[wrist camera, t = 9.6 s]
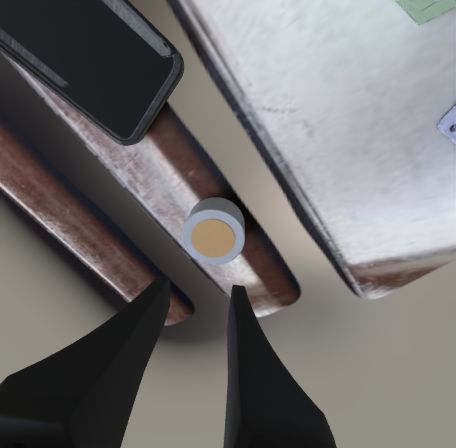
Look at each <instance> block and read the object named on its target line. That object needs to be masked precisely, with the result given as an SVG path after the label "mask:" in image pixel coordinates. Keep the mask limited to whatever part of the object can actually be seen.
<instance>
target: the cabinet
mask: <svg viewBox="0 0 456 448" xmlns="http://www.w3.org/2000/svg"><path fill="white" fill-rule="evenodd" d="M395 1H396V2H397V3H398V4H399V5H400V6H401V7H402V8H403V9H404V10H405V11H406V12H407V13H408V14H409V15H410V16H411V17H412V19H413V20H414V21H415V22H416V23H417V24H418V25H422V24H424V23H425V22H427V21H429V20H431V19H433V18H435V17H437V16H439V15H441V14H443V13H444V12H446V11H448V10H450V9H452V8H454V7H456V0H395Z"/></svg>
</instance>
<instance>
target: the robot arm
mask: <svg viewBox="0 0 456 448" xmlns="http://www.w3.org/2000/svg"><path fill="white" fill-rule="evenodd" d="M452 125H453V129H452V130H451V131H450V127H451V126H452ZM438 129H439V130H440V131H441V132H442V133H443V134H444V135H445V136H446V137H447V138H448V139H450V140H451V141H452V142H453V143H454V144H455V145H456V105H455V106H454V107H453V108H452V109H451V110H450V111H449V112H448V113H447V114H446V115H445V116H444V117H443V118H442V119H441V120H440V122H439V124H438ZM169 307H170V277H165V276H158V277H157V278H156V279H155V280H154V281H153V282H152V283H151V284H150V285H149V286H148V287H147V288H146V289H145V290H143V291H142V292H141V293H140V294H139V295H138V296H137V297H136V298H135V299H134V300H132V301H131V302H130V303H129V304H128V305H127V306H125V307H124V308H123V309H122V310H121V311H119V312H118V313H117V314H116V315H114V316H113V317H112V318H111V319H109V320H108V321H106V322H105V323H103V324H102V325H101V326H99V327H98V328H96V329H95V330H93V331H92V332H90V333H89V334H87V335H86V336H84V337H82V338H81V339H79V340H77V341H76V342H74V343H73V344H71V345H69V346H67V347H65V348H64V349H62V350H60V351H58V352H56V353H55V354H53V355H51V356H49V357H47V358H45V359H43V360H41V361H39V362H37V363H35V364H33V365H31V366H28V367H26V368H24V369H22V370H20V371H18V372H16V373H14V374H11V375H9V376H8V377H7V378H6V379H5V380H4V381H3V382H2V383H1V384H0V448H120V447H121V443H122V440H123V437H124V434H125V430H126V427H127V424H128V420H129V417H130V414H131V411H132V407H133V404H134V401H135V398H136V395H137V392H138V389H139V385H140V382H141V380H142V377H143V373H144V371H145V368H146V366H147V363H148V361H149V358H150V356H151V354H152V351H153V349H154V347H155V344H156V342H157V340H158V337H159V335H160V333H161V330H162V328H163V326H164V323H165V320H166V317H167V314H168V310H169ZM227 346H228V349H227V350H228V389H227V404H226V419H225V435H224V448H337V447H336V444H335V440H334V437H333V435H332V432H331V430H330V427H329V425H328V422H327V420H326V417H325V415H324V414H323V412H322V411H321V410H320V409H319V408H318V407H317V406H316V405H315V404H314V402H313V401H312V400H311V399H310V398H309V397H308V396H307V394H306V393H305V392H304V391H303V390H302V388H301V387H300V386H299V385H298V383H297V382H296V381H295V380H294V378H293V377H292V376H291V374H290V373H289V372H288V370H287V369H286V367H285V366H284V365H283V364H282V362H281V361H280V359H279V358H278V356H277V355H276V353H275V352H274V350H273V348H272V347H271V345H270V343H269V342H268V340H267V338H266V336H265V335H264V333H263V331H262V329H261V327H260V325H259V323H258V321H257V319H256V316H255V314H254V312H253V309H252V307H251V304H250V302H249V299H248V296H247V293H246V289H245V287H244V286H239V285H233V287H232V293H231V299H230V306H229V313H228V326H227Z"/></svg>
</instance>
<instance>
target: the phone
mask: <svg viewBox="0 0 456 448" xmlns="http://www.w3.org/2000/svg"><path fill="white" fill-rule="evenodd" d="M0 50H1V51H2V52H3V53H4V54H6V55H7V56H8V57H9V58H11V59H12V60H13V61H14V62H16V63H17V64H18V65H19V66H21V67H22V68H23V69H24V70H26V71H27V72H28V73H29V74H31V75H32V76H33V77H34V78H36V79H37V80H38V81H39V82H41V83H42V84H43V85H45V86H46V87H47V88H48V89H50V90H51V91H52V92H53V93H55V94H56V95H57V96H58V97H60V98H61V99H62V100H63V101H65V102H66V103H67V104H68V105H70V106H71V107H72V108H73V109H75V110H76V111H77V112H78V113H80V114H81V115H82V116H83V117H85V118H86V119H87V120H88V121H90V122H91V123H92V124H93V125H95V126H96V127H97V128H98V129H100V130H101V131H102V132H103V133H105V134H106V135H107V136H109V137H110V138H111V139H112V140H114V141H115V142H116V143H118V144H120V145H123V146H128V145H133V144H136V143H138V142H140V141H141V140H142V138H143V137H144V135H145V133H146V132H147V130H148V129H149V127H150V126H151V124H152V123H153V121H154V120H155V118H156V116H157V115H158V113H159V112H160V110H161V109H162V107H163V106H164V104H165V103H166V101H167V99H168V98H169V96H170V95H171V93H172V92H173V90H174V89H175V87H176V85H177V84H178V82H179V81H180V79H181V78H182V75H183V72H184V61H183V58H182V56H181V54H180V53H179V51H178V50H177V49H176V48H175V47H174V45H173V44H172V43H170V41H169V40H167V38H165V37H164V36H163V35H162V34H161V33H160V32H159V31H158V30H157V29H156V28H155V27H154V26H153V25H152V24H151V23H150V22H149V21H148V20H147V19H146V18H145V17H144V16H143V15H142V14H141V13H140V12H139V11H138V10H137V9H136V8H135V7H134V6H133V5H132V4H131V3H130V2H129V1H128V0H0Z"/></svg>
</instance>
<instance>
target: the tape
mask: <svg viewBox="0 0 456 448" xmlns="http://www.w3.org/2000/svg"><path fill="white" fill-rule="evenodd" d="M182 241H183V244H184V247H185V248H186V250H187V251H188V253H189V254H190V255H191V256H192V257H193V258H195V259H196V260H198V261H200V262H203V263H206V264H211V265H219V264H224V263H227V262H229V261H231V260H233V259H234V258H236V257H237V256H238V255H239V253H240V252H241V251H242V249H243V246H244V242H245V228H244V218H243V215H242V213H241V211H240V209H239V208H238V207H237V206H236V205H235V204H234V203H232V202H231V201H229V200H227V199H224V198H218V197H212V198H207V199H204V200H202V201H200V202H199V203H198V204H196V205H195V206H194V208H193V209H192V211H191V213H190V215H189V217H188V218H187V220H186V222H185V224H184V226H183V229H182Z"/></svg>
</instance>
